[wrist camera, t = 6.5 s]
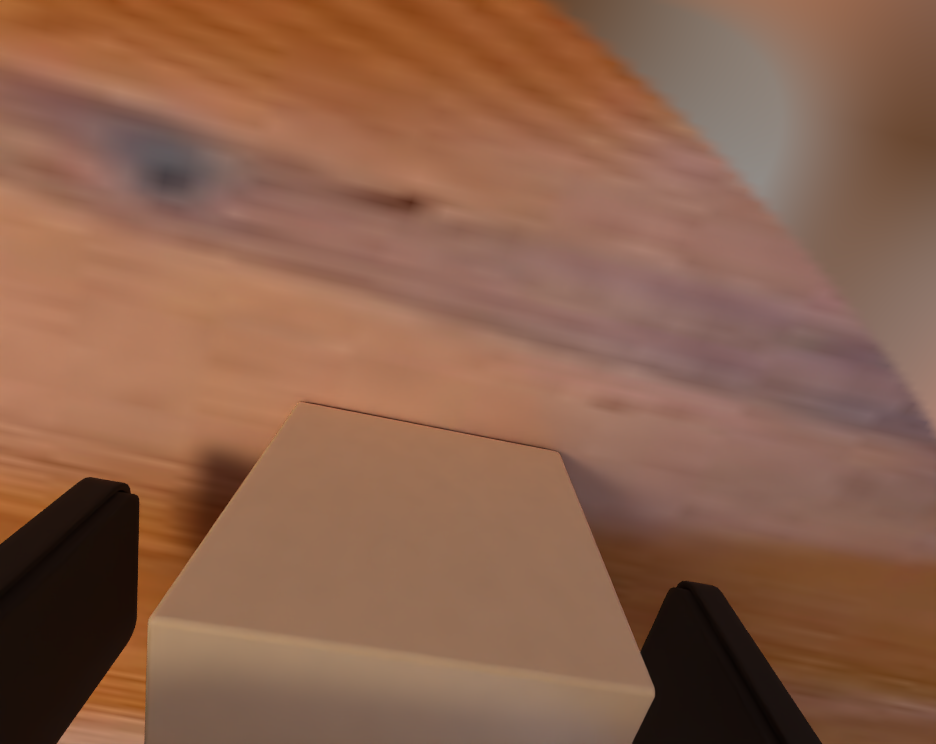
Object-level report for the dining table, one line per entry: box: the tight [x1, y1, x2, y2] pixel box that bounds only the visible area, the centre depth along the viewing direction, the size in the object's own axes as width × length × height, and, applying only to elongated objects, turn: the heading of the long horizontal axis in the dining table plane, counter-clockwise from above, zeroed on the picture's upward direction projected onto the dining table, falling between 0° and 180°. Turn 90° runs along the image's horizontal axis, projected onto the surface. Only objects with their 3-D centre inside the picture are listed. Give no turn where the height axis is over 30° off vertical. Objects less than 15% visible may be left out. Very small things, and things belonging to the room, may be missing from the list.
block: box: [144, 402, 655, 744], centre depth 8 cm, size 5×5×5 cm
